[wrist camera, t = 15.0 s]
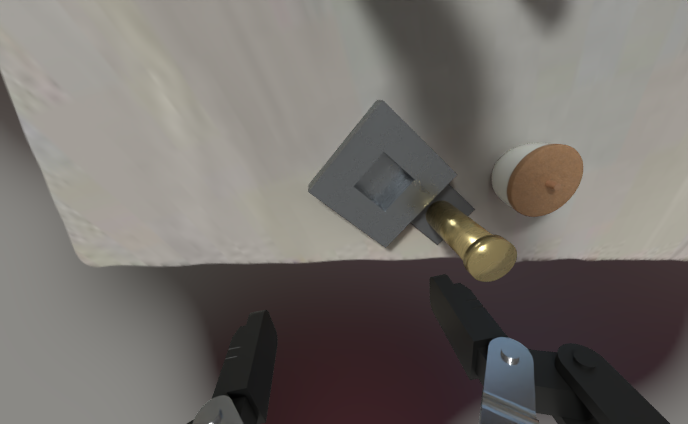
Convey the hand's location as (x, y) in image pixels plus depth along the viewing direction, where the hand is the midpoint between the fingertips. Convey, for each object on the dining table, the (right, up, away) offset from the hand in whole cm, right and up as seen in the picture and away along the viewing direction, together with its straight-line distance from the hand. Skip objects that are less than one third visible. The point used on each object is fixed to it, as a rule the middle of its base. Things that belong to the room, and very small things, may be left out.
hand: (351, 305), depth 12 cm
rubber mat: (+16, +4, +32) cm, 37 cm away
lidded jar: (+28, +12, +31) cm, 43 cm away
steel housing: (+5, +10, +28) cm, 31 cm away
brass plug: (+16, +4, +32) cm, 36 cm away
